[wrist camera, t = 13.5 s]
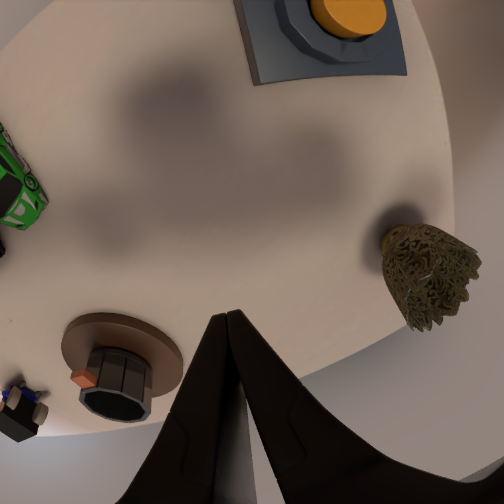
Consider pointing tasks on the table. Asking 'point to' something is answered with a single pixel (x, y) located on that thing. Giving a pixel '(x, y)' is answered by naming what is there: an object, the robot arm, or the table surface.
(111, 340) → the turntable
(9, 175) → the toy car
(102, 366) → the black faceted container
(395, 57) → the button box
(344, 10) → the button
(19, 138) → the table surface
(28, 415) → the figurine character
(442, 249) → the cup
